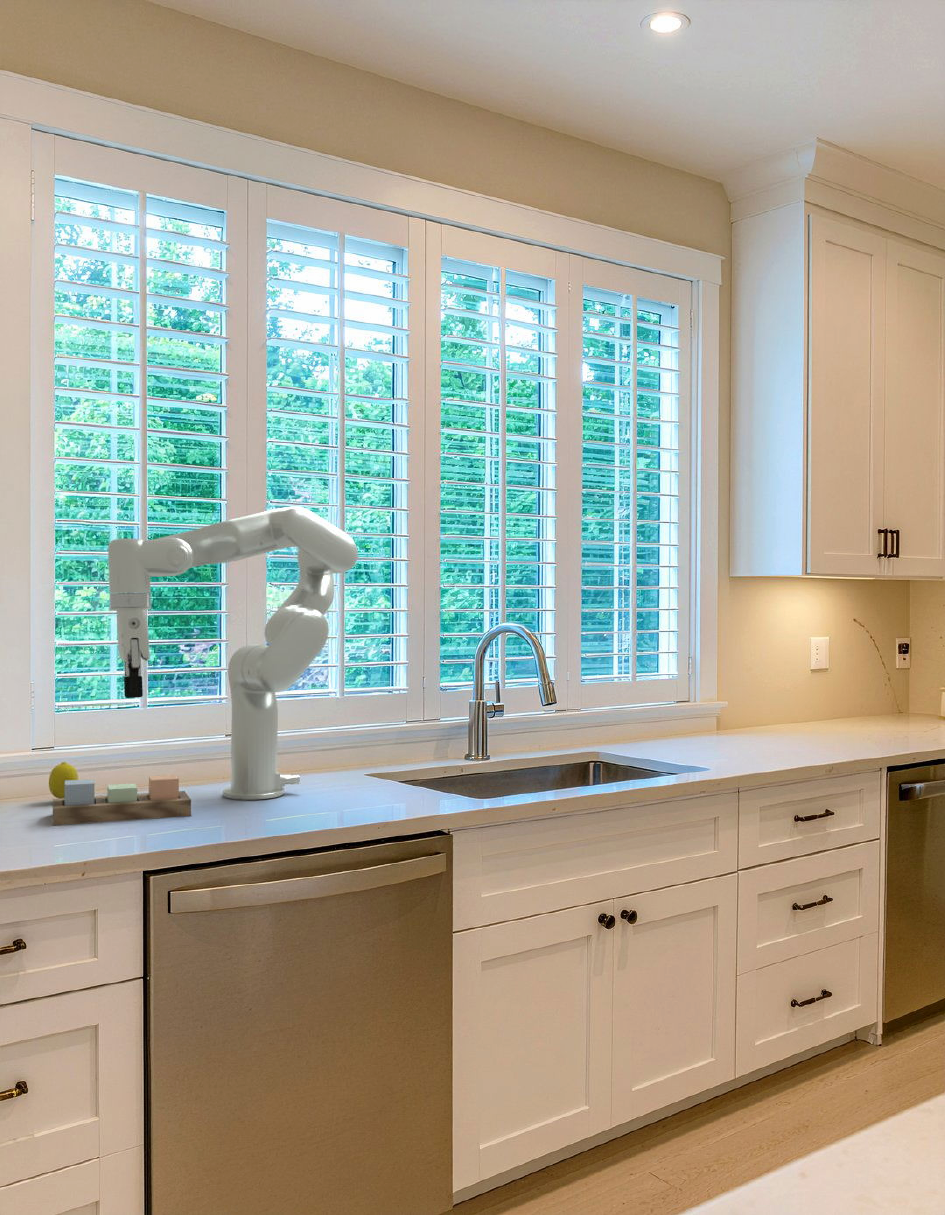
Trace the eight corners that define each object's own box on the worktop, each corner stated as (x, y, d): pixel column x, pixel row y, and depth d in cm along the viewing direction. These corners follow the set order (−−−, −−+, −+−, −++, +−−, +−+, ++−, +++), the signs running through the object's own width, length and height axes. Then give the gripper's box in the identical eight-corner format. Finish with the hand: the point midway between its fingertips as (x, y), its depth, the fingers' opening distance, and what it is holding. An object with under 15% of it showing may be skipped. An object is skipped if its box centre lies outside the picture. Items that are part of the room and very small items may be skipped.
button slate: (93, 805, 186) (93, 779, 186) (94, 810, 181) (94, 783, 181) (64, 807, 184) (64, 780, 184) (64, 812, 179) (65, 785, 179)
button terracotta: (175, 800, 192) (175, 774, 192) (178, 805, 187) (178, 778, 187) (148, 802, 190) (148, 776, 190) (151, 806, 185) (151, 780, 185)
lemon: (69, 798, 202) (69, 759, 202) (83, 801, 199) (83, 761, 199) (43, 801, 198) (43, 762, 198) (57, 805, 194) (57, 765, 194)
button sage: (134, 809, 189) (135, 783, 189) (136, 814, 184) (137, 787, 184) (107, 811, 187) (107, 785, 187) (108, 816, 182) (108, 789, 182)
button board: (184, 806, 195) (184, 790, 195) (190, 815, 186) (191, 799, 186) (52, 814, 185) (52, 798, 185) (52, 825, 176) (53, 808, 176)
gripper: (155, 602, 185) (159, 699, 186) (146, 601, 199) (149, 692, 199) (113, 603, 182) (116, 702, 182) (106, 603, 196) (109, 695, 196)
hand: (133, 697), depth 191 cm, fingers closed
